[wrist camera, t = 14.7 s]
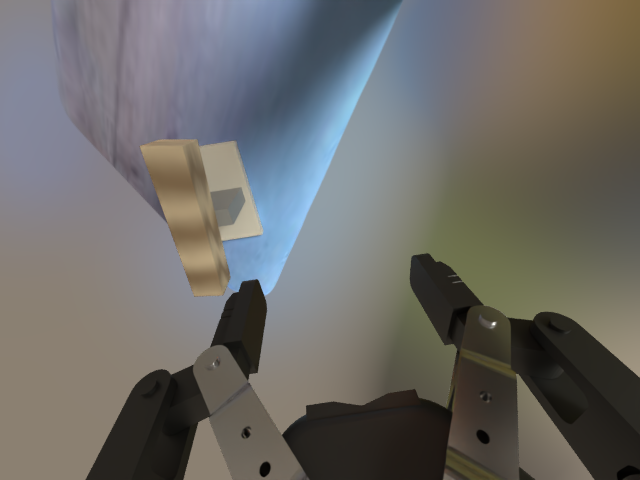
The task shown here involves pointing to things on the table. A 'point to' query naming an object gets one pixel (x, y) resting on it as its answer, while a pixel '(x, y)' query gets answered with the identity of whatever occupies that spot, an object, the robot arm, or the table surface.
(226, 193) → the stand
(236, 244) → the table surface
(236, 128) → the table surface
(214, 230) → the rectangular block
